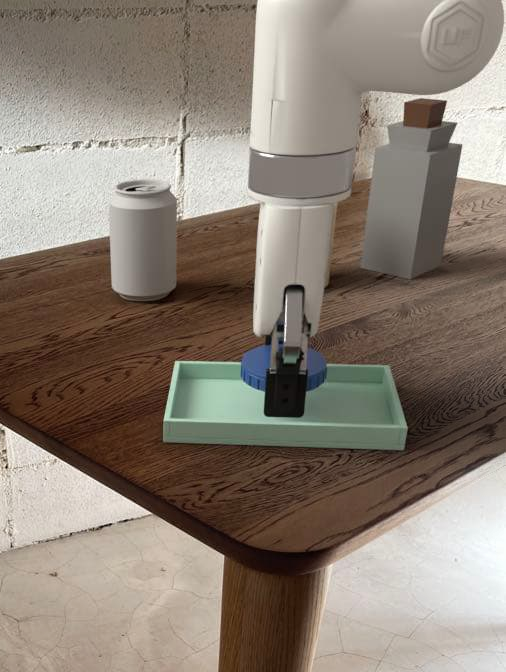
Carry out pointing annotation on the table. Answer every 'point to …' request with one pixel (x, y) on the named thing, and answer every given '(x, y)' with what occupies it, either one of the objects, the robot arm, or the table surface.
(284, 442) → the tray
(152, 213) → the can
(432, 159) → the perfume bottle
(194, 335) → the table surface
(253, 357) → the jar lid
